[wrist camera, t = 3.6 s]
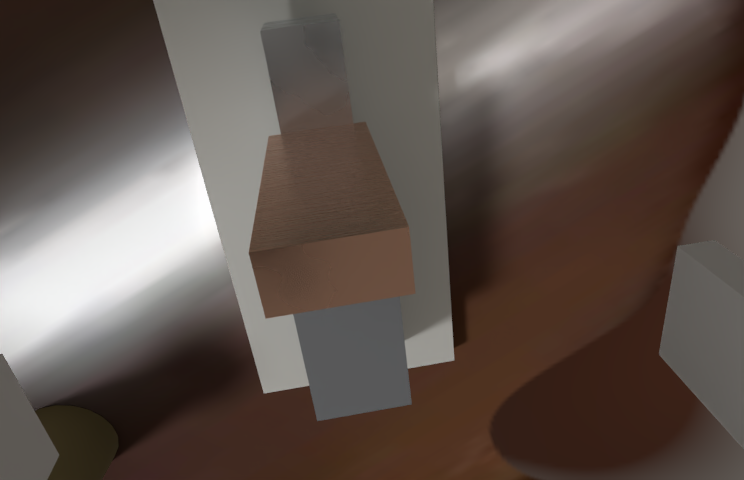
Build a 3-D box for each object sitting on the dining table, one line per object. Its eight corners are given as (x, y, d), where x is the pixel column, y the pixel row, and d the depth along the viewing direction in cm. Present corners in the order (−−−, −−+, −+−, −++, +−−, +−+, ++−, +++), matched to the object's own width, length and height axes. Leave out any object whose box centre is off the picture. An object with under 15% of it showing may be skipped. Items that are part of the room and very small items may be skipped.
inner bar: (385, 315, 30) (437, 529, 19) (315, 327, 30) (325, 550, 19) (346, 11, 23) (393, 60, 12) (252, 24, 23) (205, 88, 11)
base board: (450, 350, 35) (454, 360, 34) (264, 382, 34) (264, 393, 33) (410, -294, 20) (415, -305, 19) (87, -258, 20) (77, -269, 19)
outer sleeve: (396, 344, 33) (411, 404, 28) (314, 358, 33) (317, 420, 28) (373, 157, 27) (388, 195, 23) (275, 172, 27) (270, 214, 23)
